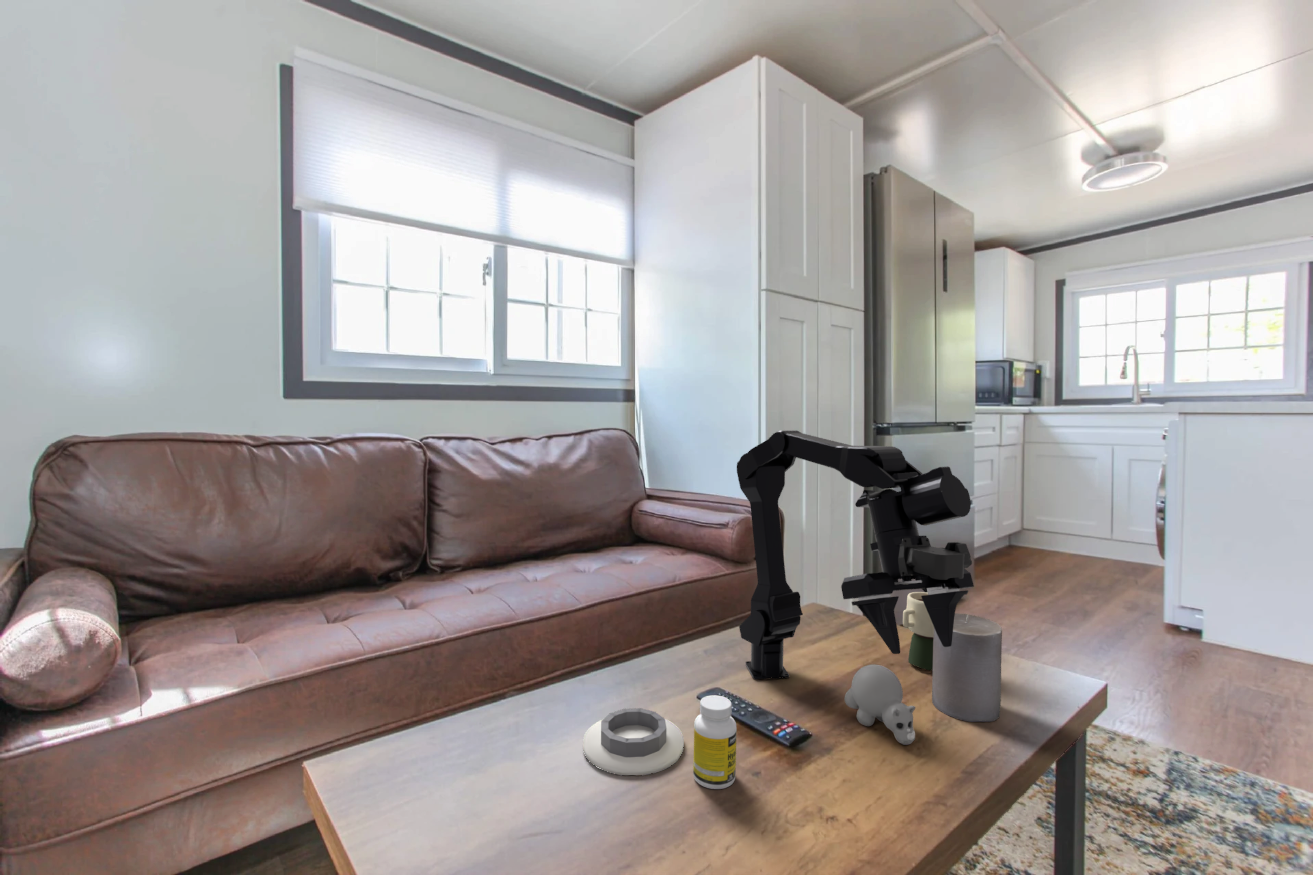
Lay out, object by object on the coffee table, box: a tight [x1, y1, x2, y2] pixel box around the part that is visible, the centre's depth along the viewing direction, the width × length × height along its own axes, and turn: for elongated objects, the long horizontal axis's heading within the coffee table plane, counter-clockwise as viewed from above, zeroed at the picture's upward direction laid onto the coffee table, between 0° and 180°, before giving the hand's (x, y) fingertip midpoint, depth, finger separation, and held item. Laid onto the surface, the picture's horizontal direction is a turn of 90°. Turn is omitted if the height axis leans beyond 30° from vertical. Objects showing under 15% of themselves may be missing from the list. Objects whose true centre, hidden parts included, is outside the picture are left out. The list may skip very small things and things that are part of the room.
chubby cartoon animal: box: [844, 664, 916, 746], centre depth 87 cm, size 7×12×8 cm, turn 17°
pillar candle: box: [931, 612, 1003, 723], centre depth 94 cm, size 10×10×15 cm
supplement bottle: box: [692, 694, 738, 790], centre depth 75 cm, size 5×5×10 cm
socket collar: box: [582, 707, 685, 776], centre depth 83 cm, size 14×14×3 cm
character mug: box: [902, 591, 934, 672], centre depth 109 cm, size 11×7×13 cm, turn 109°
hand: (922, 650), depth 78 cm, fingers open, 9 cm apart
